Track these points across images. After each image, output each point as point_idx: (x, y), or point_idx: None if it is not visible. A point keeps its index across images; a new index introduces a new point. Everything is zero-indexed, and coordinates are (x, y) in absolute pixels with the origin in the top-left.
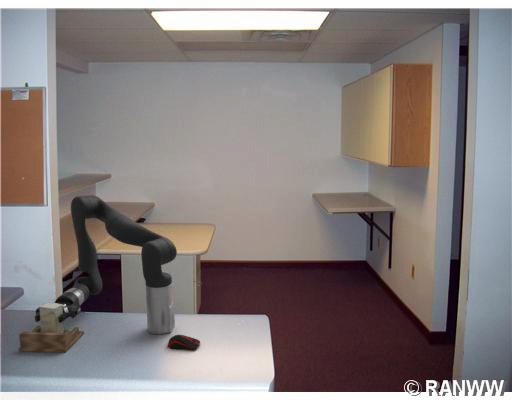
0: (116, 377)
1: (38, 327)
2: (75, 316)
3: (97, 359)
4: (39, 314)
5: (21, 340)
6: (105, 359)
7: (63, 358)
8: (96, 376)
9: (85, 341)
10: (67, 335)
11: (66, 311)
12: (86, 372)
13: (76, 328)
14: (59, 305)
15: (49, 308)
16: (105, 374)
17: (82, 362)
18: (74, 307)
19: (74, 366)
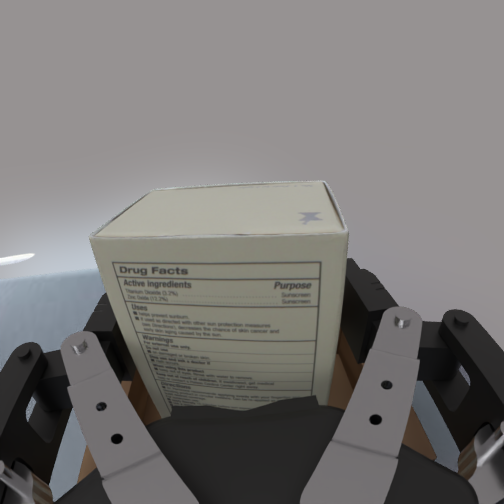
0: (12, 281)
1: (409, 442)
2: (37, 414)
3: (30, 331)
4: (346, 277)
5: None
6: (12, 331)
7: None
8: (45, 280)
9: (66, 454)
10: (124, 383)
11: (79, 337)
12: (63, 287)
13: (89, 472)
14: (117, 217)
15: (204, 188)
16: (27, 286)
17: (70, 317)
18: (7, 466)
19: (91, 302)
